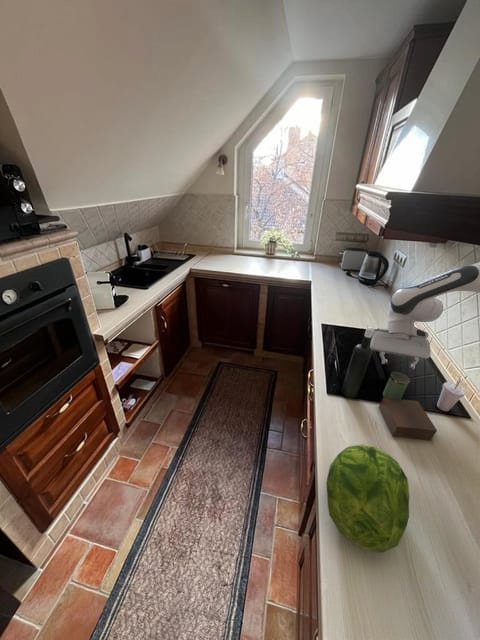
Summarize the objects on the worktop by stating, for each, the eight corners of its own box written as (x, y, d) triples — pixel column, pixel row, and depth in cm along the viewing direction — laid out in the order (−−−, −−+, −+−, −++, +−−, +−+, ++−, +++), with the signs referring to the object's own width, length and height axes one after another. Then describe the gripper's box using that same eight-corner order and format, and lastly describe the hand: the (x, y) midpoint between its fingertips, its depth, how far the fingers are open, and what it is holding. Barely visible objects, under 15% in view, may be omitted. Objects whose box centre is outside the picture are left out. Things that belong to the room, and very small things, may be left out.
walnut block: (412, 410, 92) (417, 400, 89) (430, 440, 82) (437, 430, 79) (378, 407, 93) (382, 397, 90) (392, 436, 82) (397, 426, 80)
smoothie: (432, 408, 93) (448, 380, 86) (432, 398, 97) (448, 370, 90) (453, 417, 90) (472, 388, 83) (453, 405, 94) (471, 377, 87)
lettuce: (424, 467, 66) (372, 410, 68) (441, 564, 46) (367, 479, 49) (365, 486, 75) (321, 435, 78) (358, 572, 56) (300, 501, 58)
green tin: (396, 391, 100) (405, 372, 95) (403, 403, 94) (413, 384, 89) (380, 390, 100) (388, 370, 95) (386, 402, 95) (395, 382, 90)
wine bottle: (345, 385, 102) (365, 321, 87) (359, 393, 99) (383, 328, 83) (338, 392, 99) (358, 327, 84) (352, 400, 95) (375, 334, 80)
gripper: (374, 325, 99) (371, 360, 95) (433, 334, 94) (432, 371, 91) (369, 329, 105) (366, 362, 101) (424, 337, 100) (423, 372, 97)
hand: (397, 366), depth 96 cm, fingers open, 8 cm apart
